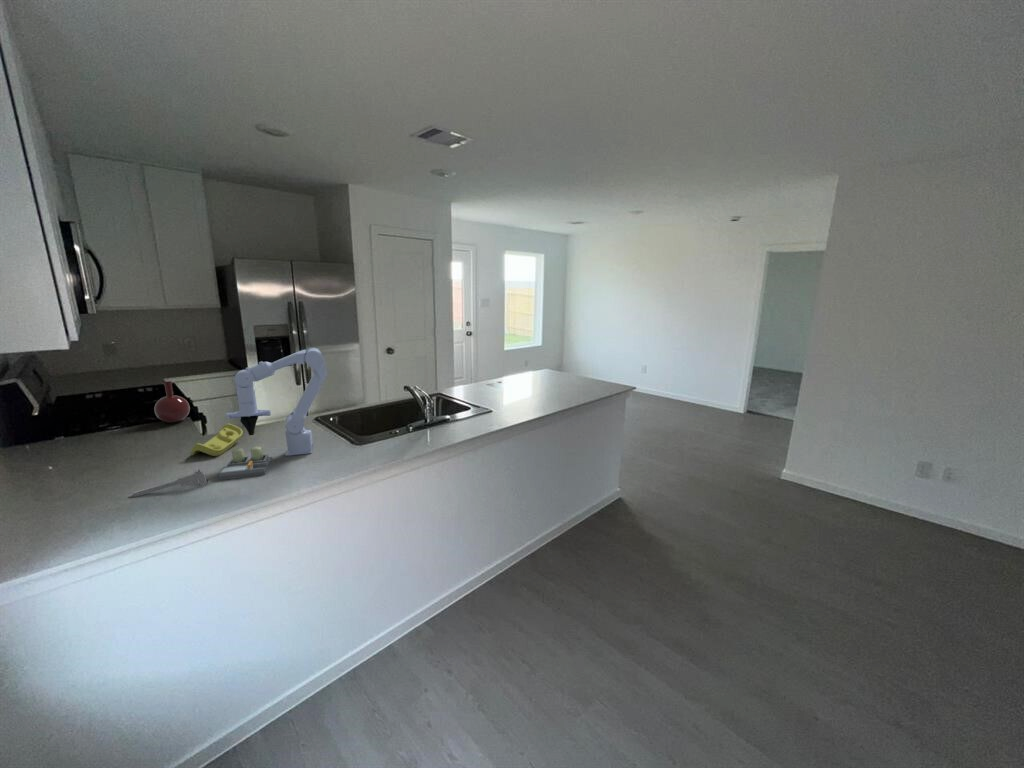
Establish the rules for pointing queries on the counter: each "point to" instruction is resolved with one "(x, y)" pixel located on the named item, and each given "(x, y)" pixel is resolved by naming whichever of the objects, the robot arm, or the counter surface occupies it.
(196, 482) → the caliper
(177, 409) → the round-bottom flask
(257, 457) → the housing
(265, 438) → the counter surface
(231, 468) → the lid
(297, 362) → the robot arm
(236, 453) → the peg
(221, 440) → the plastic component
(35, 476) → the counter surface
